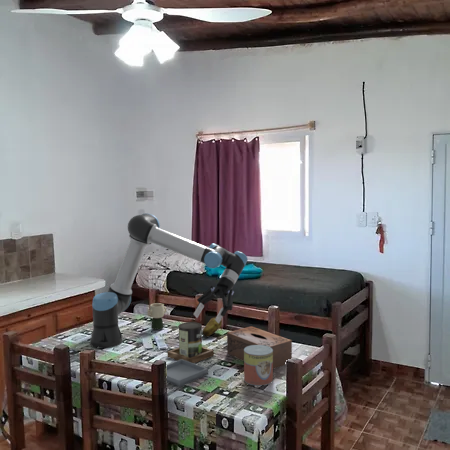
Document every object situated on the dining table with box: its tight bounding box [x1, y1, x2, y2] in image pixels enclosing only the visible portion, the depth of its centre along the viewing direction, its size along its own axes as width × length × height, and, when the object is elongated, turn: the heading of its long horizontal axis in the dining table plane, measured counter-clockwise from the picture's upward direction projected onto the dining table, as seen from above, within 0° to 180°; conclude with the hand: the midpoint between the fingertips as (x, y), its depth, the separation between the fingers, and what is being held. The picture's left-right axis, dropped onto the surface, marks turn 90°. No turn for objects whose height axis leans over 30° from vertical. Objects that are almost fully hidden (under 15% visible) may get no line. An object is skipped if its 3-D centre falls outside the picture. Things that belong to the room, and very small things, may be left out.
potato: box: [202, 316, 223, 338], centre depth 239 cm, size 8×13×8 cm, turn 129°
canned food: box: [243, 345, 274, 387], centre depth 183 cm, size 11×11×12 cm
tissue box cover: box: [226, 325, 293, 370], centre depth 206 cm, size 26×14×10 cm, turn 38°
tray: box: [166, 359, 209, 388], centre depth 189 cm, size 16×16×2 cm
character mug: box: [147, 302, 167, 330], centre depth 249 cm, size 11×7×13 cm, turn 126°
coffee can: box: [177, 321, 203, 358], centre depth 209 cm, size 10×10×14 cm
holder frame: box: [166, 346, 215, 364], centre depth 209 cm, size 14×14×2 cm
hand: (205, 318), depth 215 cm, fingers open, 13 cm apart
